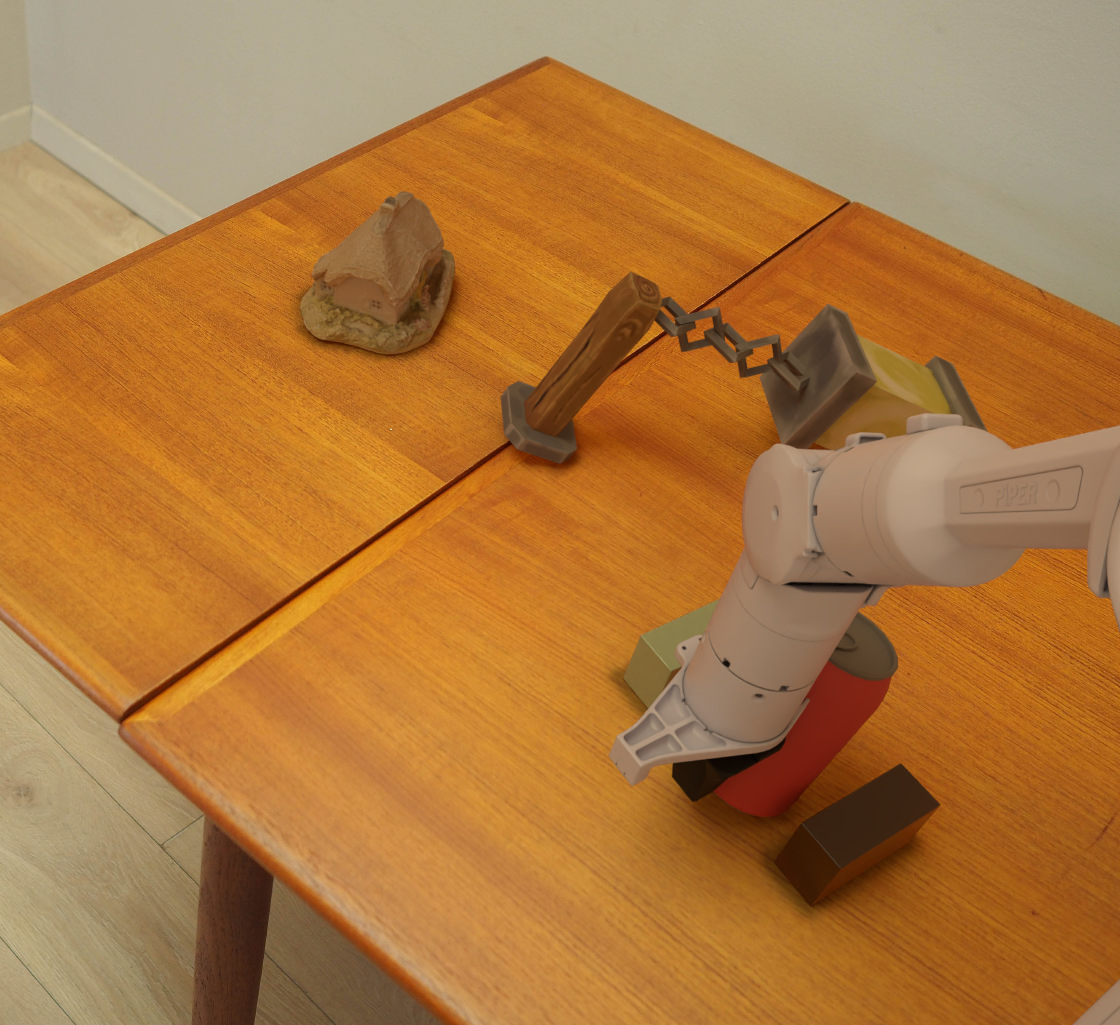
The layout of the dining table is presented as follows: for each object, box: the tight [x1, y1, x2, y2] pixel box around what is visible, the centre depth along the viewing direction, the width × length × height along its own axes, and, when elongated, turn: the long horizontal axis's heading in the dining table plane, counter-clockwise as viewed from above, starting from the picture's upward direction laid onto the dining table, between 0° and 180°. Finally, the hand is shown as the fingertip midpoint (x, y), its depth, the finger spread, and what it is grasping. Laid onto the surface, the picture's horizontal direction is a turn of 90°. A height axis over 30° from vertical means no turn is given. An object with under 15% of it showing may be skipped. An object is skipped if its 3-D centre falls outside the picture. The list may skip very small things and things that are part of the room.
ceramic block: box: [623, 598, 720, 709], centre depth 72 cm, size 3×8×4 cm, turn 122°
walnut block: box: [774, 762, 941, 907], centre depth 65 cm, size 3×8×4 cm, turn 122°
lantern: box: [500, 271, 989, 465], centre depth 86 cm, size 8×17×30 cm
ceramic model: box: [299, 190, 456, 355], centre depth 93 cm, size 14×11×10 cm
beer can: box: [712, 611, 899, 818], centre depth 65 cm, size 7×7×12 cm
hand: (687, 785), depth 66 cm, fingers closed, pressing on beer can
